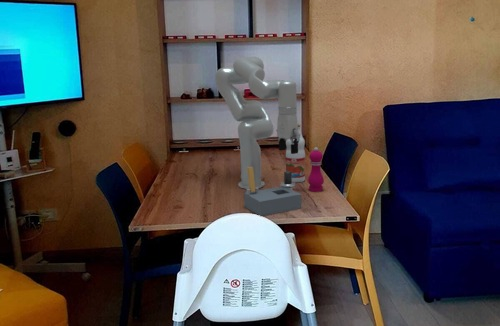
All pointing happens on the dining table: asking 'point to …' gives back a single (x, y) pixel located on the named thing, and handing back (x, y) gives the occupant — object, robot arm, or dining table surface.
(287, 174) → the pin
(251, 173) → the lever
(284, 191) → the block
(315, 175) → the pepper mill
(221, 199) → the dining table surface
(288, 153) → the fruit juice
